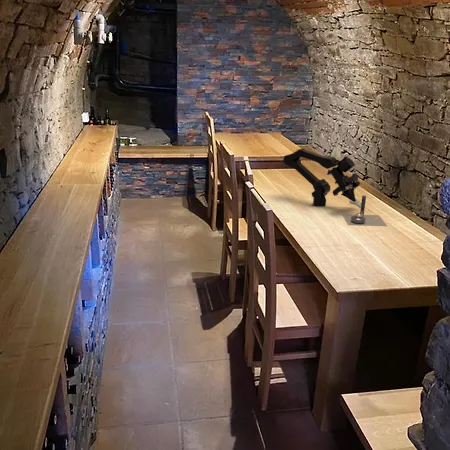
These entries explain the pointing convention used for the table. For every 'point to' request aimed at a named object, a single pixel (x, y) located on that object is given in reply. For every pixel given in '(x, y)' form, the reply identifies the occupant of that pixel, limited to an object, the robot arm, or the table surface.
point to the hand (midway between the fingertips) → (355, 201)
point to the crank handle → (359, 216)
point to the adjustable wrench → (357, 203)
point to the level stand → (366, 220)
